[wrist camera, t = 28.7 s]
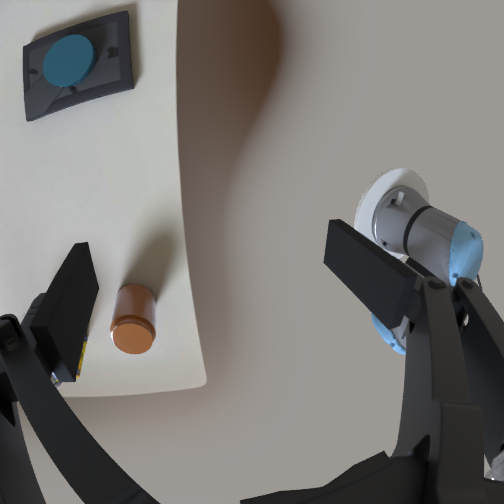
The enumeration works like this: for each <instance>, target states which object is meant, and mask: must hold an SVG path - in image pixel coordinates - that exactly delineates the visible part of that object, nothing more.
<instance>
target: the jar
mask: <svg viewBox="0 0 504 504" xmlns="http://www.w3.org/2000/svg"><path fill="white" fill-rule="evenodd" d="M110 332H111V335H112V341H113V343H114V344H115V345H116V347H117V348H119V349H120V350H121V351H123V352H126V353H129V354H141V353H144V352H146V351H147V350H149V349H150V347H151V346H152V343H153V341H154V340H155V336H156V299H155V296H154V294H153V293H152V292H151V291H150V290H149V289H148V288H147V287H145V286H143V285H139V284H129V285H126V286H124V287H123V288H121V289H120V290H119V292H118V294H117V297H116V301H115V306H114V311H113V316H112V322H111V327H110Z"/></svg>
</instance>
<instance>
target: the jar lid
mask: <svg viewBox="0 0 504 504" xmlns="http://www.w3.org/2000/svg"><path fill="white" fill-rule="evenodd" d="M96 56H97V55H96V49H95V47H94V45H93V43H92V42H91V41H90V40H89V39H88V38H86V37H85V36H82V35H78V34H74V35H68V36H66V37H63V38H61V39H60V40H58V41H57V42H56V43H55V44H54V45H53V46H52V47H51V48H50V49H49V51H48V52H47V54H46V56H45V59H44V63H43V74H44V77H45V78H46V80H47V81H48V82H49V83H50V84H52V85H54V86H56V87H62V88H65V87H71V86H74V85H77V84H78V83H80V82H81V81H83V80H84V79H85V78H86V77H87V76H88V75H89V73H90V72H91V70H92V69H93V67H94V64H95V61H96Z"/></svg>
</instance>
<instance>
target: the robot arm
mask: <svg viewBox="0 0 504 504" xmlns="http://www.w3.org/2000/svg"><path fill="white" fill-rule="evenodd" d="M372 234H373V237H374V240H375V241H376V243H377V244H378V245H379V246H378V245H377V244H375V243H374V242H373V241H371V240H370V239H368V238H367V237H366V236H364V235H363V234H361V233H360V232H358V231H357V230H355V229H354V228H352V227H351V226H350V225H348V224H347V223H345V222H344V221H342V220H340V219H336V220H329V225H328V234H327V241H326V248H325V256H324V264H325V265H326V266H328V268H329V269H330V270H331V271H332V272H333V273H334V274H335V275H336V276H337V277H338V278H339V279H340V280H341V281H342V282H343V283H344V284H345V285H346V286H347V287H348V288H349V289H350V290H351V291H352V292H353V293H354V294H355V295H356V296H357V297H358V298H359V299H360V301H361V302H362V303H363V304H364V305H365V306H366V307H367V308H368V309H369V310H370V311H371V312H372V315H371V318H372V322H373V324H374V326H375V328H376V330H377V331H378V333H379V334H380V335H381V337H382V338H383V339H384V340H385V341H386V342H387V343H388V344H390V345H391V347H392V348H393V349H394V350H395V351H397V352H398V353H400V354H406V362H405V380H404V393H403V404H402V412H401V421H400V427H399V434H398V441H397V445H396V448H395V450H394V452H393V454H392V456H391V457H388V456H387V454H386V453H385V451H382V452H380V453H378V454H376V455H374V456H372V457H370V458H368V459H366V460H364V461H362V462H359V463H358V464H355V465H353V466H352V467H351V468H349V469H348V470H347V471H345V472H344V473H343V474H341V475H340V476H338V477H337V478H335V479H334V480H333V481H331V482H330V483H328V484H327V485H325V486H323V487H319V488H311V489H301V490H289V491H278V492H274V493H271V494H267V495H263V496H258V497H254V498H250V499H244V500H240V504H504V322H503V320H502V319H501V317H500V316H499V314H498V313H497V311H496V310H495V308H494V307H493V306H492V304H491V303H490V302H489V300H488V298H487V297H486V296H485V294H484V293H483V292H482V287H481V283H480V279H479V275H478V272H479V269H480V266H481V262H482V258H483V241H482V237H481V235H480V234H479V232H478V231H477V230H475V229H474V228H472V227H471V226H469V225H468V224H467V223H466V222H464V221H460V220H458V219H457V218H455V217H453V216H451V215H449V214H447V213H445V212H443V211H440V210H438V209H436V208H434V207H432V206H430V204H429V203H428V202H427V201H426V200H425V199H424V198H423V197H422V196H421V195H420V194H419V193H418V192H417V191H416V190H414V189H412V188H410V187H408V186H404V185H400V186H396V187H393V188H391V189H390V190H388V191H387V192H386V193H385V194H384V195H383V196H382V198H381V199H380V200H379V202H378V204H377V206H376V208H375V211H374V214H373V218H372ZM380 246H381V247H382V248H383V249H382V248H381V247H380ZM384 249H385V250H387V251H390V252H394V253H399V254H404V255H408V256H409V258H408V259H407V261H406V262H405V263H402V261H400V260H399V259H398V258H396V257H395V256H392V255H391V254H389V253H388V252H387V251H385V250H384ZM476 277H477V280H478V284H479V286H478V285H477V284H476V283H475V282H474V280H475V278H476ZM479 287H480V288H479ZM98 290H99V286H98V282H97V278H96V274H95V270H94V266H93V262H92V258H91V254H90V249H89V245H88V242H84V243H76V244H74V246H73V247H72V249H71V251H70V252H69V254H68V255H67V257H66V259H65V260H64V262H63V264H62V265H61V267H60V269H59V270H58V272H57V274H56V276H55V277H54V279H53V281H52V283H51V284H50V286H49V288H48V290H47V292H46V293H41V294H40V295H38V296H37V297H36V298H35V299H34V300H33V302H32V304H31V306H30V309H28V311H27V313H26V315H25V317H24V319H23V321H22V323H21V325H20V323H19V321H18V319H17V317H16V316H15V315H13V314H5V315H2V316H0V504H46V502H45V500H44V497H43V495H42V492H41V490H40V487H39V484H38V482H37V479H36V476H35V473H34V470H33V467H32V465H31V461H30V458H29V454H28V451H27V447H26V444H25V441H24V436H23V432H22V428H21V424H20V419H19V414H18V409H17V403H16V402H17V401H19V402H20V404H21V406H22V408H23V410H24V412H25V414H26V416H27V418H28V420H29V422H30V424H31V426H32V427H33V429H34V431H35V432H36V435H37V436H38V438H39V440H40V441H41V443H42V445H43V446H44V448H45V449H46V451H47V453H48V454H49V456H50V457H51V459H52V460H53V462H54V463H55V465H56V466H57V468H58V469H59V471H60V472H61V474H62V475H63V476H64V478H65V479H66V480H67V482H68V483H69V485H70V486H71V487H72V488H73V490H74V491H75V492H76V493H77V495H78V496H79V497H80V498H81V500H82V501H83V502H84V503H85V504H160V503H159V502H157V501H156V500H155V499H154V498H153V497H152V496H150V495H149V494H148V493H147V492H146V491H145V490H144V489H143V488H141V487H140V486H139V485H138V484H137V483H136V482H135V481H134V480H133V479H132V478H131V477H130V476H129V475H127V473H126V472H125V471H124V470H123V469H122V468H121V467H120V466H119V465H117V463H115V461H114V460H113V459H112V458H111V457H110V456H109V455H108V454H107V453H106V452H105V450H104V449H103V448H102V447H101V446H100V445H99V444H98V443H97V441H96V440H95V439H94V438H93V437H92V435H91V434H90V433H89V432H88V431H87V429H86V428H85V427H84V426H83V425H82V423H81V422H80V421H79V419H78V418H77V417H76V415H75V414H74V413H73V411H72V410H71V409H70V407H69V406H68V404H67V403H66V402H65V400H64V399H63V397H62V396H61V394H60V393H59V391H58V390H57V388H56V387H55V385H54V384H53V382H52V381H51V377H52V373H54V375H55V376H56V378H57V380H58V381H59V382H75V381H76V376H77V371H78V366H79V362H80V357H81V353H82V349H83V344H84V340H85V336H86V332H87V329H88V325H89V321H90V317H91V314H92V310H93V307H94V304H95V300H96V297H97V294H98ZM467 315H468V317H469V319H468V323H467V325H466V326H465V324H464V321H465V319H466V317H467ZM484 454H485V456H486V459H487V462H488V463H489V465H490V468H491V469H490V470H489V471H488V472H487V473H486V476H485V477H484Z"/></svg>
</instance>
